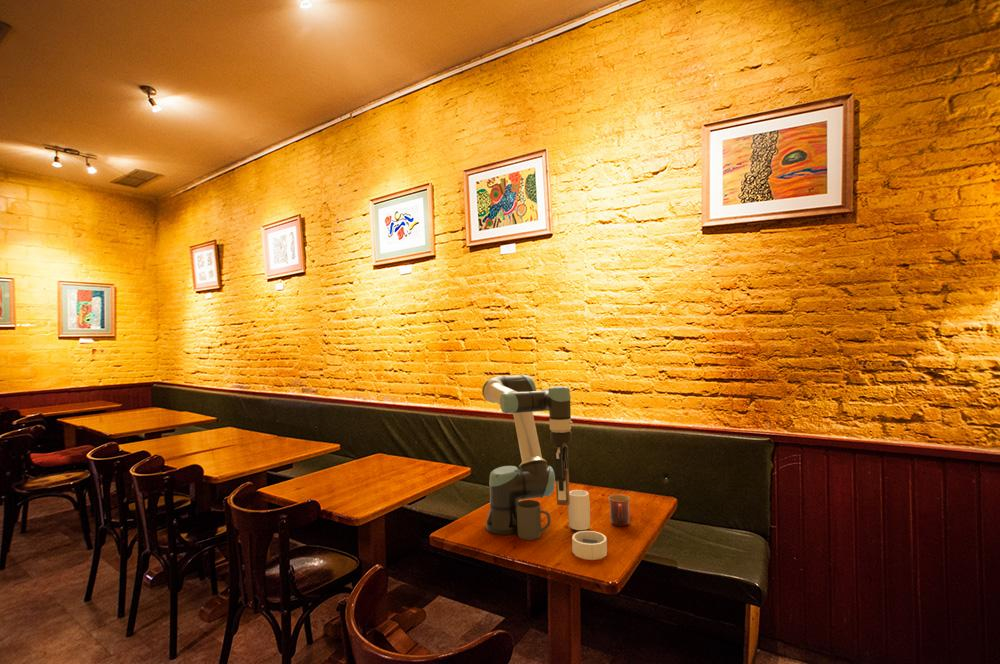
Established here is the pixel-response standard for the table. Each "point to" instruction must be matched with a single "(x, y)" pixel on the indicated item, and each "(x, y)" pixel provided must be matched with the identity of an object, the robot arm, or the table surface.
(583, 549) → the white round bowl
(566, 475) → the tall brown wooden block
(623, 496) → the mug
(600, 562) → the table surface
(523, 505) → the mug
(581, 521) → the cup
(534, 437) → the robot arm
